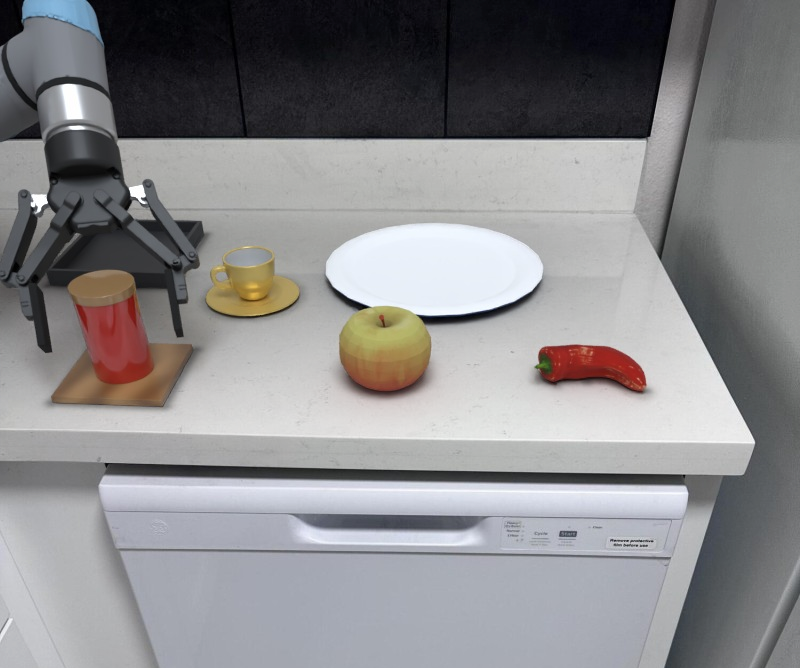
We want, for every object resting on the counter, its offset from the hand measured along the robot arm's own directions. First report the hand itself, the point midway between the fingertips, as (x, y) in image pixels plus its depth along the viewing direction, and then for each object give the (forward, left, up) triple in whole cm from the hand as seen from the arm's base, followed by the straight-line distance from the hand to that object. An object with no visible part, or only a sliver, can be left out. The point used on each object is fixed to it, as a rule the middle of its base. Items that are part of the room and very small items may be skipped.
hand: (113, 341), depth 83 cm
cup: (+9, +22, -6) cm, 25 cm away
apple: (+28, +3, -6) cm, 29 cm away
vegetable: (+50, +4, -6) cm, 51 cm away
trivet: (-1, +2, -5) cm, 6 cm away
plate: (+32, +30, -6) cm, 45 cm away
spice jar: (-1, +2, -5) cm, 5 cm away
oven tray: (-11, +33, -5) cm, 35 cm away
